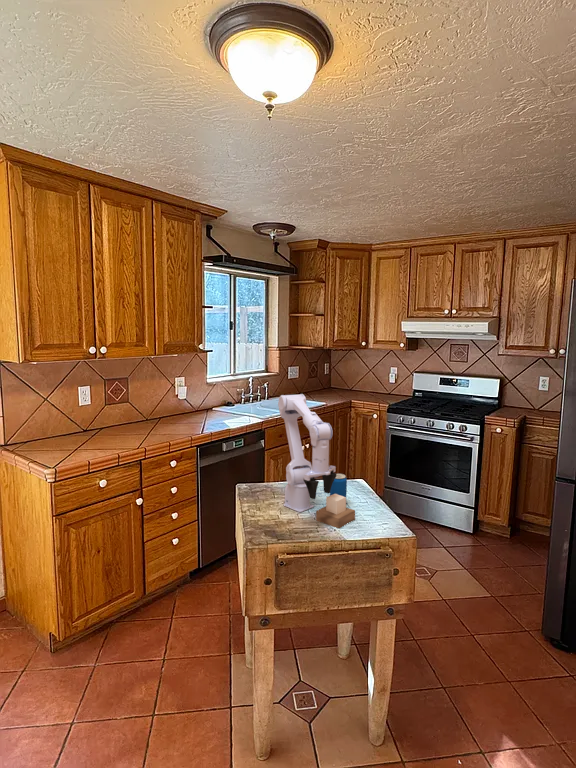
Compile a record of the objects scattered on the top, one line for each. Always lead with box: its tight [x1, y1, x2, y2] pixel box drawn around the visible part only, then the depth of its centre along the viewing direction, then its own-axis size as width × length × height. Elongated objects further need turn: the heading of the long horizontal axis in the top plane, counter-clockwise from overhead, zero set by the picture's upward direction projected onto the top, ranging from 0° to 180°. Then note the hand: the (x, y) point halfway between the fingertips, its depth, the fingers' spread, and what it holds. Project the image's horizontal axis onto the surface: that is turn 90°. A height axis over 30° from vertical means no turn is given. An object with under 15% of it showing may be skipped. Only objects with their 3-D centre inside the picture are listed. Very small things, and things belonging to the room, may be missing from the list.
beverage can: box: [329, 473, 348, 498], centre depth 176 cm, size 6×6×12 cm
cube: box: [325, 494, 347, 514], centre depth 163 cm, size 5×5×5 cm
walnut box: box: [315, 506, 356, 529], centre depth 163 cm, size 10×10×4 cm
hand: (319, 495), depth 159 cm, fingers open, 7 cm apart
